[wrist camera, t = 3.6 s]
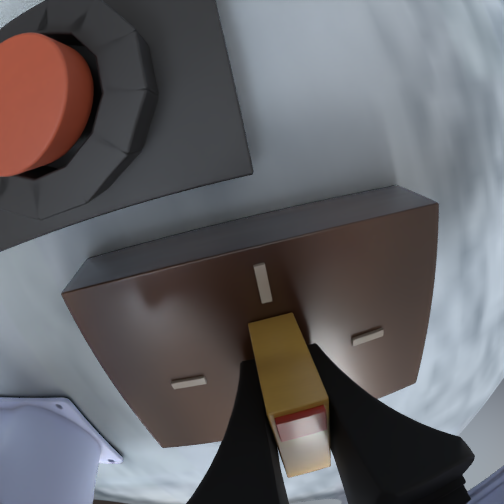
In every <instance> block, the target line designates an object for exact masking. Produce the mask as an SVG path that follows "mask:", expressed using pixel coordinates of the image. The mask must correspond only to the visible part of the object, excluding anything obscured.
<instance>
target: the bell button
mask: <svg viewBox="0 0 504 504" xmlns="http://www.w3.org/2000/svg"><path fill="white" fill-rule="evenodd" d="M93 96H94V86H93V78H92V74H91V71H90V68H89V66H88V64H87V62H86V61H85V59H84V58H83V57H82V55H81V54H80V53H79V52H77V51H76V50H75V49H73V48H71V47H69V46H67V45H65V44H63V43H61V42H58V41H56V40H54V39H52V38H50V37H48V36H45V35H43V34H39V33H22V34H19V35H15V36H13V37H11V38H8V39H7V40H5V41H3V42H2V43H0V177H10V176H14V175H18V174H20V173H23V172H26V171H29V170H32V169H35V168H38V167H40V166H43V165H46V164H49V163H52V162H54V161H56V160H57V159H59V158H60V157H62V156H63V155H64V154H66V153H67V152H68V151H69V150H70V149H71V148H72V147H73V145H74V144H75V143H76V142H77V140H78V139H79V137H80V136H81V134H82V132H83V130H84V129H85V126H86V124H87V122H88V119H89V116H90V113H91V109H92V104H93Z"/></svg>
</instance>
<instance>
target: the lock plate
mask: <svg viewBox="0 0 504 504" xmlns="http://www.w3.org/2000/svg"><path fill="white" fill-rule="evenodd" d="M438 221H439V203H438V202H435V201H433V200H431V199H429V198H426V197H424V196H422V195H420V194H417V193H415V192H413V191H410V190H408V189H406V188H403V187H401V186H398V185H397V186H392V187H386V188H381V189H376V190H371V191H366V192H361V193H356V194H351V195H346V196H342V197H337V198H332V199H327V200H323V201H318V202H313V203H309V204H304V205H300V206H295V207H291V208H286V209H282V210H277V211H273V212H268V213H264V214H260V215H256V216H251V217H247V218H243V219H239V220H234V221H230V222H226V223H222V224H218V225H214V226H210V227H206V228H202V229H198V230H194V231H190V232H186V233H182V234H178V235H174V236H170V237H166V238H162V239H159V240H155V241H151V242H147V243H143V244H140V245H136V246H132V247H129V248H125V249H121V250H118V251H114V252H110V253H107V254H103V255H100V256H96V257H93V258H89V259H87V260H86V261H85V263H84V264H83V265H82V266H81V268H80V269H79V270H78V272H77V273H76V274H75V275H74V277H73V278H72V279H71V281H70V282H69V283H68V285H67V286H66V288H65V289H64V290H63V292H62V293H61V295H62V297H63V299H64V301H65V303H66V305H67V307H68V309H69V311H70V313H71V315H72V317H73V318H74V320H75V322H76V324H77V326H78V328H79V329H80V331H81V333H82V335H83V336H84V338H85V340H86V342H87V343H88V345H89V347H90V348H91V350H92V352H93V353H94V355H95V356H96V358H97V360H98V361H99V363H100V364H101V366H102V368H103V369H104V371H105V372H106V374H107V375H108V377H109V378H110V380H111V381H112V383H113V384H114V386H115V387H116V388H117V390H118V391H119V393H120V394H121V396H122V397H123V398H124V400H125V401H126V403H127V404H128V405H129V407H130V408H131V409H132V411H133V412H134V413H135V415H136V416H137V417H138V418H139V420H140V421H141V422H142V424H143V425H144V426H145V427H146V429H147V430H148V431H149V432H150V434H151V435H152V436H153V437H154V438H155V440H156V441H157V442H158V443H159V444H160V445H161V447H162V448H168V447H179V446H188V445H197V444H205V443H212V442H218V441H222V440H223V437H224V435H225V432H226V429H227V426H228V423H229V420H230V417H231V414H232V410H233V407H234V402H235V398H236V394H237V389H238V383H239V376H240V363H241V362H242V361H245V360H250V359H254V358H255V356H254V352H253V347H252V342H251V337H250V332H249V327H248V324H249V323H252V322H256V321H260V320H264V319H268V318H272V317H276V316H280V315H284V314H288V313H293V314H294V317H295V319H296V321H297V324H298V326H299V328H300V331H301V333H302V336H303V338H304V340H305V343H306V345H309V344H313V343H316V344H318V346H319V347H320V348H321V349H322V350H323V352H324V353H325V354H326V355H327V356H328V357H329V358H330V359H331V360H332V361H333V362H334V363H335V364H336V365H337V366H338V367H339V368H340V369H341V370H342V371H343V372H344V373H345V374H346V375H347V376H348V377H350V378H351V379H352V380H353V381H354V382H355V383H356V384H358V385H359V386H360V387H361V388H363V389H364V390H365V391H367V392H368V393H369V394H371V395H372V396H373V397H375V398H376V399H378V398H381V397H383V396H386V395H388V394H391V393H393V392H396V391H398V390H400V389H403V388H405V387H407V386H410V385H412V384H414V383H416V380H417V376H418V372H419V368H420V363H421V359H422V354H423V349H424V345H425V339H426V334H427V329H428V323H429V317H430V310H431V303H432V296H433V288H434V279H435V270H436V258H437V244H438Z"/></svg>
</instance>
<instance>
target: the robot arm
mask: <svg viewBox="0 0 504 504" xmlns="http://www.w3.org/2000/svg"><path fill="white" fill-rule="evenodd" d="M307 347H308V350H309V352H310V354H311V357H312V359H313V362H314V364H315V366H316V369H317V371H318V373H319V376H320V378H321V381H322V383H323V385H324V388H325V390H326V393H327V395H328V397H329V418H330V448H331V451H332V453H333V456H334V459H335V462H336V465H337V468H338V471H339V474H340V477H341V481H342V484H343V487H344V490H345V494H346V497H347V501H348V504H504V466H502V467H501V468H500V469H498V470H497V471H496V472H495V473H493V474H492V475H490V476H489V477H488V478H486V479H485V480H484V481H482V482H481V483H479V484H478V485H476V486H475V487H473V488H472V489H470V490H469V491H467V490H466V489H465V487H464V485H463V484H465V482H466V481H465V479H464V477H463V476H462V474H463V473H464V472H465V471H466V470H467V469H468V467H469V466H470V465H471V464H472V462H473V461H474V457H475V456H474V454H473V453H472V451H471V449H470V448H469V447H468V446H467V444H466V443H465V442H464V441H463V440H462V438H461V437H458V436H455V435H451V434H448V433H445V432H442V431H439V430H436V429H434V428H431V427H428V426H426V425H424V424H421V423H419V422H417V421H415V420H413V419H411V418H409V417H407V416H405V415H403V414H401V413H399V412H397V411H395V410H394V409H392V408H390V407H388V406H387V405H385V404H384V403H382V402H381V401H379V400H378V399H376V398H375V397H373V396H372V395H371V394H369V393H368V392H367V391H365V390H364V389H363V388H361V387H360V386H359V385H358V384H356V383H355V382H354V381H353V380H352V379H351V378H350V377H348V376H347V375H346V374H345V373H344V372H343V371H342V370H341V369H340V368H339V367H338V366H337V365H336V364H335V363H334V362H333V361H332V360H331V359H330V358H329V357H328V356H327V355H326V354H325V353H324V352H323V350H322V349H321V348H320V347H319V346H318V344H316V343H313V344H309V345H307ZM99 463H112V464H120V463H123V457H122V456H121V455H120V454H119V453H118V452H117V451H115V450H114V449H113V448H112V447H111V445H110V444H109V443H108V442H107V441H106V440H105V439H104V438H103V437H102V436H101V435H100V434H99V433H98V432H97V431H96V430H95V429H94V428H93V426H92V425H91V424H90V423H89V422H88V421H87V420H86V419H85V417H84V416H83V415H82V414H81V413H80V412H79V410H78V409H77V408H76V407H75V406H74V404H73V403H72V402H71V401H70V400H69V399H67V398H63V397H59V398H4V397H0V504H92V503H93V496H94V489H95V483H96V477H97V471H98V466H99ZM186 504H289V502H288V498H287V494H286V490H285V486H284V482H283V477H282V473H281V469H280V463H279V456H278V448H277V444H276V441H275V438H274V435H273V432H272V429H271V426H270V423H269V420H268V417H267V413H266V408H265V404H264V399H263V394H262V390H261V385H260V380H259V376H258V371H257V366H256V361H255V358H254V359H250V360H245V361H242V362H241V363H240V376H239V383H238V389H237V394H236V398H235V402H234V407H233V410H232V414H231V417H230V420H229V423H228V426H227V429H226V432H225V435H224V437H223V440H222V442H221V445H220V447H219V449H218V452H217V454H216V456H215V458H214V460H213V462H212V464H211V466H210V468H209V470H208V471H207V473H206V475H205V476H204V478H203V480H202V481H201V483H200V484H199V486H198V488H197V489H196V491H195V492H194V494H193V495H192V497H191V498H190V499H189V501H188V502H187V503H186Z"/></svg>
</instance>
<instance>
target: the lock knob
mask: <svg viewBox="0 0 504 504" xmlns="http://www.w3.org/2000/svg"><path fill="white" fill-rule="evenodd" d="M248 327H249V332H250V337H251V342H252V347H253V352H254V356H255V361H256V366H257V371H258V376H259V380H260V385H261V390H262V394H263V399H264V404H265V408H266V413H267V417H268V420H269V423H270V426H271V429H272V432H273V435H274V438H275V441H276V444H277V447H278V450H279V453H280V456H281V459H282V462H283V465H284V468H285V471H286V474H287V477H288V478H290V477H294V476H298V475H302V474H305V473H309V472H313V471H316V470H320V469H323V468H327V467H330V466H331V453H330V418H329V397H328V395H327V393H326V390H325V388H324V385H323V383H322V381H321V378H320V376H319V373H318V371H317V369H316V366H315V364H314V362H313V359H312V357H311V354H310V352H309V350H308V347H307V345H306V343H305V340H304V338H303V336H302V333H301V331H300V328H299V326H298V324H297V321H296V319H295V317H294V314H293V313H288V314H284V315H280V316H276V317H272V318H268V319H264V320H260V321H256V322H252V323H249V324H248Z"/></svg>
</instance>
